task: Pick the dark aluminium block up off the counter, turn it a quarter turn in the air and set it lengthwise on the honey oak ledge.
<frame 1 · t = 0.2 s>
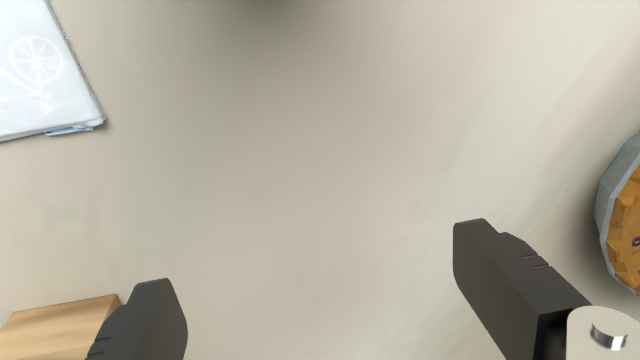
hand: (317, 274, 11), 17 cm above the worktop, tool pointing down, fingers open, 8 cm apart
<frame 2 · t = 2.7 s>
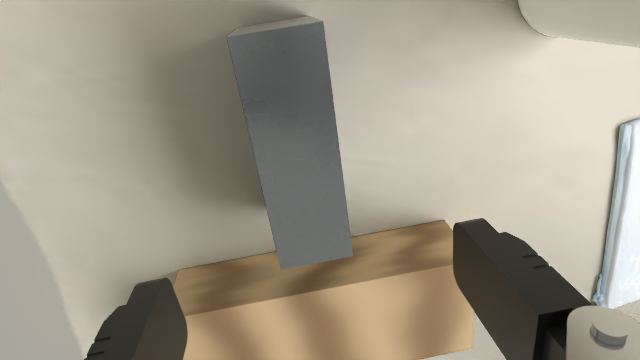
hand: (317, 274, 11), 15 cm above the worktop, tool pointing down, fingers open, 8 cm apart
oak ledge: (321, 286, 30), on the worktop
aluminium block: (291, 121, 25), on the worktop
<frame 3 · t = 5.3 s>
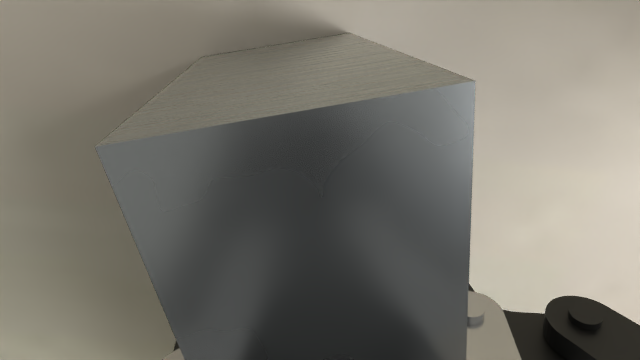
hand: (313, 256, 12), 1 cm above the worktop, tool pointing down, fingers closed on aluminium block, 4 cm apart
aluminium block: (310, 232, 13), on the worktop, touching gripper
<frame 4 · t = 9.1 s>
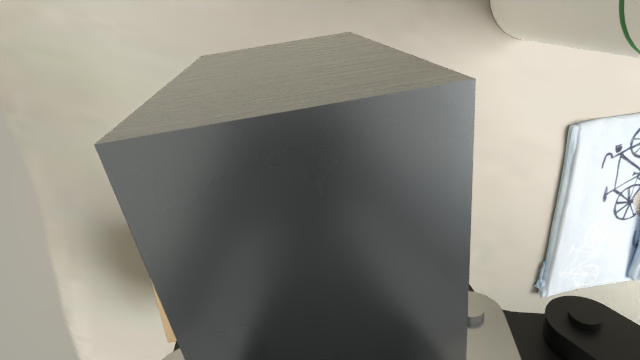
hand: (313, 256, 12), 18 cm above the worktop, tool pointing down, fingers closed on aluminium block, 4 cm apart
oak ledge: (293, 247, 33), on the worktop
aluminium block: (310, 231, 13), point 17 cm above the worktop, touching gripper
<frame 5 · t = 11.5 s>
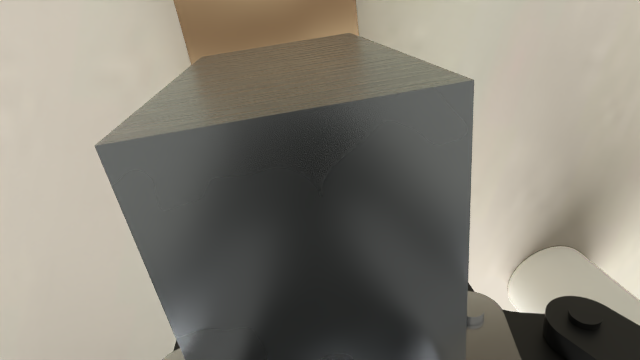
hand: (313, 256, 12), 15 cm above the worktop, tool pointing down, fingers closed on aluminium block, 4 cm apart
oak ledge: (289, 121, 25), on the worktop
aluminium block: (310, 231, 13), point 13 cm above the worktop, touching gripper
cylindrical container: (545, 279, 34), on the worktop
when the fingers open (8 cm above the worktop, at t = 13.3 s): aluminium block drops 1 cm, resting on oak ledge.
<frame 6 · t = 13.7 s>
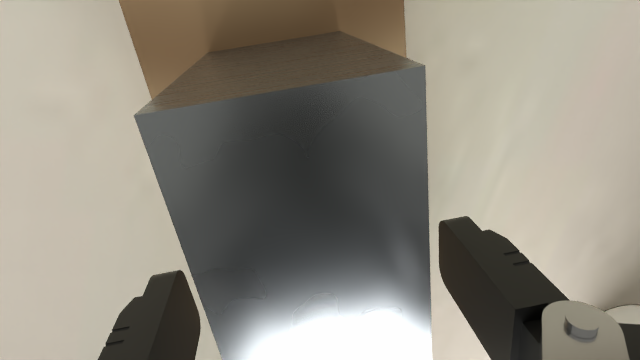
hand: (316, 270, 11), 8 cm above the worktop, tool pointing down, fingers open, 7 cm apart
oak ledge: (296, 161, 19), on the worktop
aluminium block: (305, 213, 14), point 5 cm above the worktop, touching oak ledge
cylindrical container: (608, 341, 28), on the worktop
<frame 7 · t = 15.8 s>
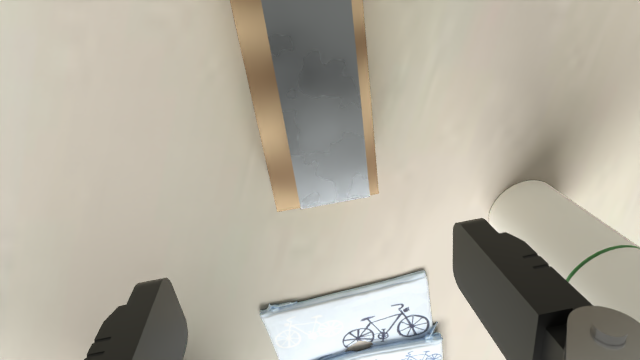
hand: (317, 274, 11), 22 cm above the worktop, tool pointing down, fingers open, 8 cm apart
oak ledge: (302, 60, 30), on the worktop
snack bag: (359, 343, 45), on the worktop
aluminium block: (308, 73, 26), point 5 cm above the worktop, touching oak ledge
cylindrical container: (521, 211, 39), on the worktop
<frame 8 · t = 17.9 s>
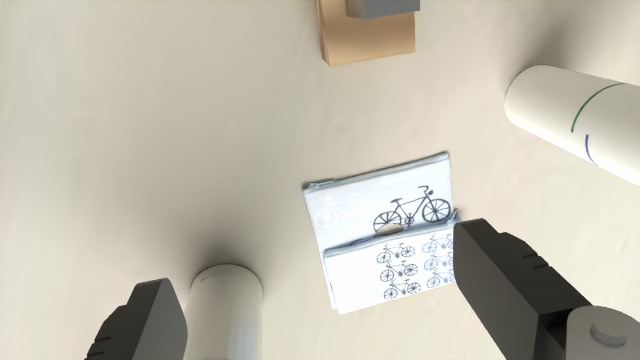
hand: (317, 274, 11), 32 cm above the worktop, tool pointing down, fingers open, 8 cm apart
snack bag: (387, 231, 50), on the worktop
cylindrical container: (533, 96, 44), on the worktop
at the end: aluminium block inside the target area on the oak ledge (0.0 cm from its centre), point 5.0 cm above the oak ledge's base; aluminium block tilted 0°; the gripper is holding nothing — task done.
